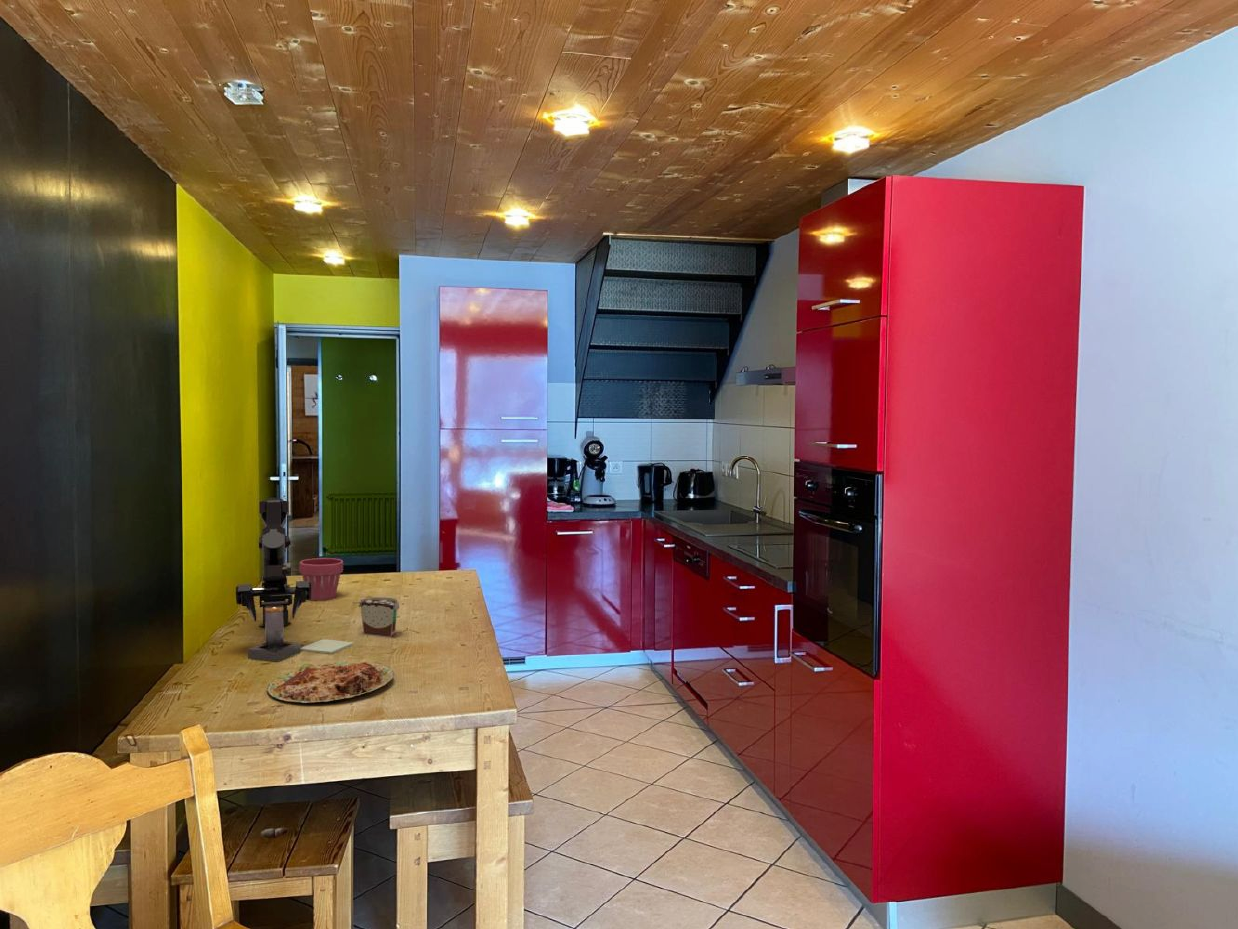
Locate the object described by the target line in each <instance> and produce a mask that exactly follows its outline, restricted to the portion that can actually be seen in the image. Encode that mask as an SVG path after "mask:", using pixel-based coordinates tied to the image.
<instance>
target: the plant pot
mask: <svg viewBox="0 0 1238 929" xmlns="http://www.w3.org/2000/svg"><path fill="white" fill-rule="evenodd" d="M298 568H299V574H301V575H302V576H301V577H302V581H310V582H311V599H309V600H308V601H313V600H324V601H330V600H333V598H334V599H335V598H336V595H337V590H338V587H339V584H340V583H339V581H340V578H341V574H342V573H343V571H344V561H343V560H342V559H340V558H335V557H334V558H333V557H332V558H331V557H319V558H318V557H317V558H307V559H303V560H301V561H299V567H298Z"/></svg>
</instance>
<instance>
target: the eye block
mask: <svg viewBox="0 0 1238 929" xmlns="http://www.w3.org/2000/svg"><path fill="white" fill-rule="evenodd" d="M301 648H302V647H301V642H292V641H284V647H283V648H280V649H278V650H272V649H266V644H265V642H264V643H260V644H257V645H255V646H253V647H250V648H248V650H247V655H248V656H247V657H248V658H250V660H256V659H259V661H265V660H266V662H267V661H268V662H274V661H275V662H276V663H278V661H279V662H281V661H284V660H286V659H288V658H287V657H289V658H291V657H293V656H292V655H294V656H295V654H296V655H298V654H301V653H300V652H302V651H301ZM297 653H298V654H297ZM290 656H291V657H290ZM285 658H286V659H285ZM283 659H284V660H283ZM280 660H281V661H280Z"/></svg>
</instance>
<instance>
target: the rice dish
mask: <svg viewBox="0 0 1238 929" xmlns="http://www.w3.org/2000/svg"><path fill="white" fill-rule="evenodd" d="M394 676H395V672H394V671H393V670H392V669H391V668H390V666H386V665H384V664H381V662H380V663H379V662H377V661H375V662H368V661H340V662H331V663H324V664H318V665H313V664H312V663H305V664H303V665H300V668H299V669H298V670H294V671H292V672H288V673H285V674H283V675H281V676H279V677H277V678H276V679H274V680H273V681H271V682H270V683H269V684H268V685H267V688H266V690H267V693H268V694H269V696H270V697H272V698H275V699H276V700H281V701H283V702H284V703H285V702H289V703H301V704H312V703H321V702H323V703H324V702H325V703H326V702H331V701H337V700H342V699H352V698H357V697H358V696H361V695H364V694H366V693H370V692H373V691H375V690H377V689H380V688H381V687H383V686H385V685H386V684H388V682H389V681H391V680H392V679H393V678H394ZM345 694H349V695H350V696H348V697H347V695H345ZM356 696H357V697H356Z"/></svg>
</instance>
